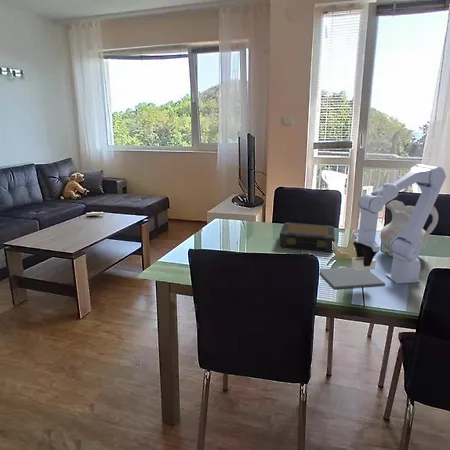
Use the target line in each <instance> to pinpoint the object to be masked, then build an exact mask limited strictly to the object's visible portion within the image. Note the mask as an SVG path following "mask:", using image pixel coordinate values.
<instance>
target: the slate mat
mask: <svg viewBox="0 0 450 450" xmlns="http://www.w3.org/2000/svg"><path fill="white" fill-rule="evenodd" d="M319 269H320V273H319V274H320V276H321V277H322V278H323V279H325V281H326V282H327V283H328V284H329V285H330V286H331V287H332V288H333V289H334V290H336V289H351V288H362V287H374V286H375V287H376V286H385V284H386V283H385V282H384V281H383V280H382V279H380V277H378V276H376V275H375V274H374V273H373V272H372V271H370V270H358V271H357V270H355V269H354V268H353V267H352V266H348V267H347V266H346V267H332V268H331V267H330V268H319Z"/></svg>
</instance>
